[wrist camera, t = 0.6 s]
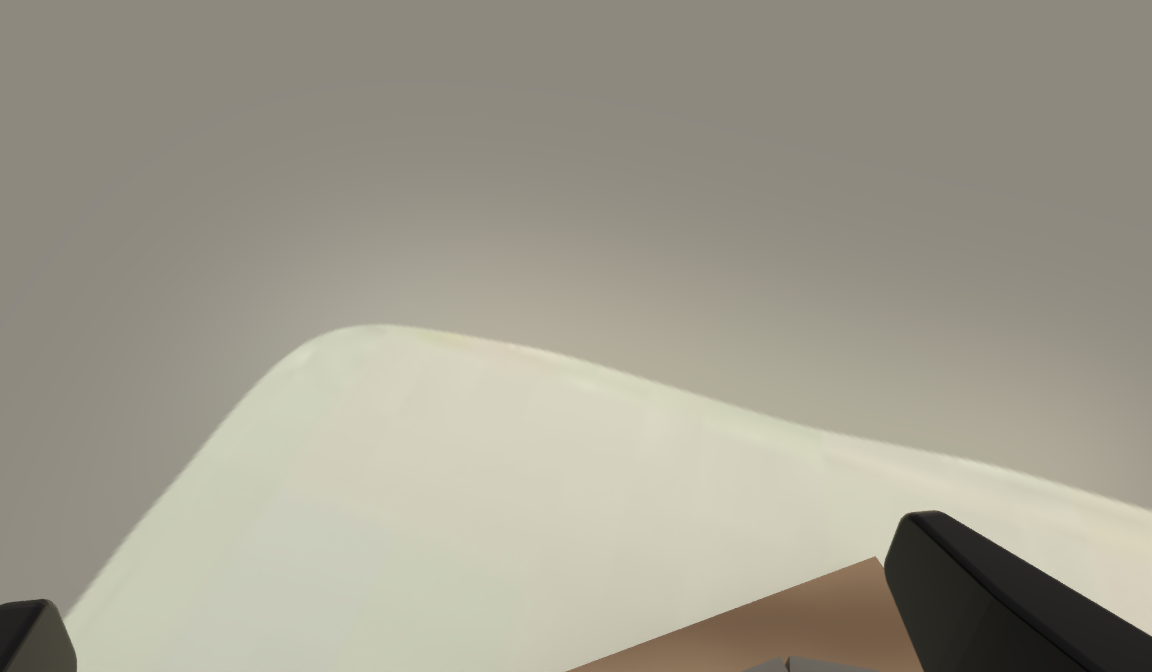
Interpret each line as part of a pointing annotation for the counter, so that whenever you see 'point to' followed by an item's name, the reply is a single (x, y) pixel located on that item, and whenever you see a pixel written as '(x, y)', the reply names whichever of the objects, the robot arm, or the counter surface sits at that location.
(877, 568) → the ring socket
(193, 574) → the counter surface
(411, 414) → the counter surface
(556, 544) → the counter surface
